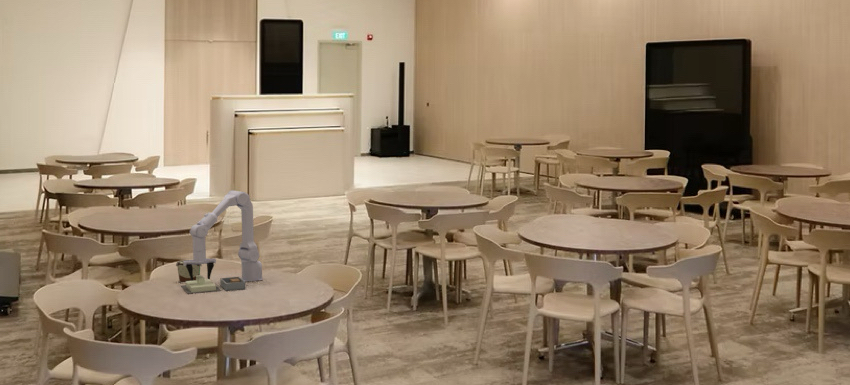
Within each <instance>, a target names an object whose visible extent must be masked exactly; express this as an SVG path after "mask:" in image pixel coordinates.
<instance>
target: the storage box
mask: <svg viewBox="0 0 850 385" xmlns="http://www.w3.org/2000/svg"><path fill="white" fill-rule="evenodd" d="M241 278H242V277H240V276H232V277H230V276H229V277H221V278H220V279H219V283H220V287H221V288H222V289H223V290H225V291H226V292H229V291H231V292H232V291H241V290H242V291H243V290H246V282H245V281H244V280H242V279H241Z"/></svg>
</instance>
